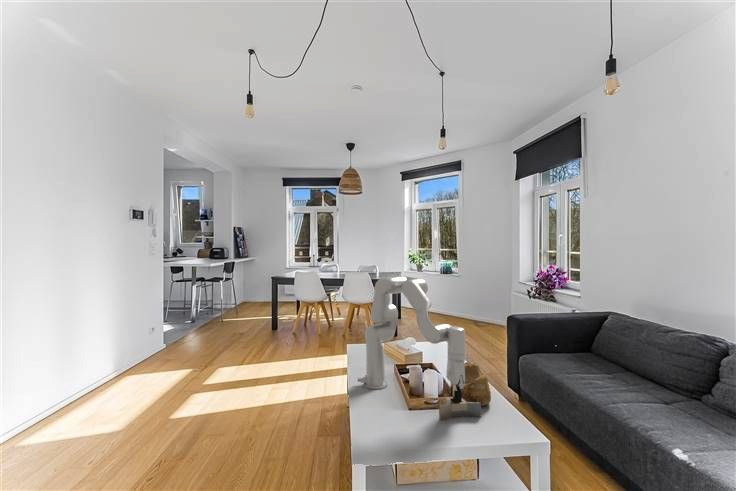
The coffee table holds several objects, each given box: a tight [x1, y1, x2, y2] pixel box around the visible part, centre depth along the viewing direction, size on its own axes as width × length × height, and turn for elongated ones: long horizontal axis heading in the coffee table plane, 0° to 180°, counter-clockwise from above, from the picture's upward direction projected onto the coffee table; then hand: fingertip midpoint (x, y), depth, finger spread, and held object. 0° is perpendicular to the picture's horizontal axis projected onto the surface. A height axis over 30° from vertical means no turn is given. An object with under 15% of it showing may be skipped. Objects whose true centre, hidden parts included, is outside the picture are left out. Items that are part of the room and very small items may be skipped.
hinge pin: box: [453, 382, 460, 403], centre depth 167 cm, size 3×3×9 cm
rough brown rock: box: [449, 361, 492, 407], centre depth 184 cm, size 23×17×15 cm
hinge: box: [438, 396, 482, 421], centre depth 166 cm, size 19×8×6 cm, turn 100°
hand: (456, 397), depth 167 cm, fingers closed on hinge pin, 3 cm apart
